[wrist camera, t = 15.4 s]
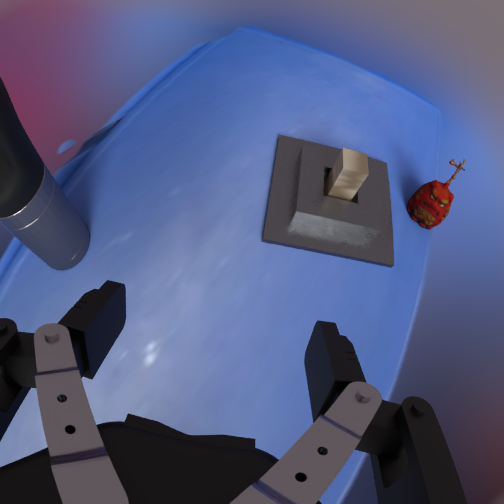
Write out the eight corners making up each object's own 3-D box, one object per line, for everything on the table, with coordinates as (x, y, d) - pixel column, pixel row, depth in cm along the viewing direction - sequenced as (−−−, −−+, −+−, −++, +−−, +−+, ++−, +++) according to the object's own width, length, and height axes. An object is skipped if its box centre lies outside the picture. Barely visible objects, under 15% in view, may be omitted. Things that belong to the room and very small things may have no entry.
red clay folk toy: (400, 214, 53) (444, 167, 40) (410, 190, 56) (450, 144, 42) (431, 237, 52) (479, 197, 39) (438, 212, 55) (482, 171, 41)
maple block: (324, 201, 51) (343, 167, 42) (324, 182, 53) (342, 147, 44) (346, 207, 51) (368, 174, 42) (346, 188, 53) (367, 154, 44)
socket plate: (262, 241, 48) (265, 229, 44) (278, 138, 57) (282, 123, 53) (391, 267, 49) (403, 258, 45) (384, 165, 58) (392, 153, 54)
